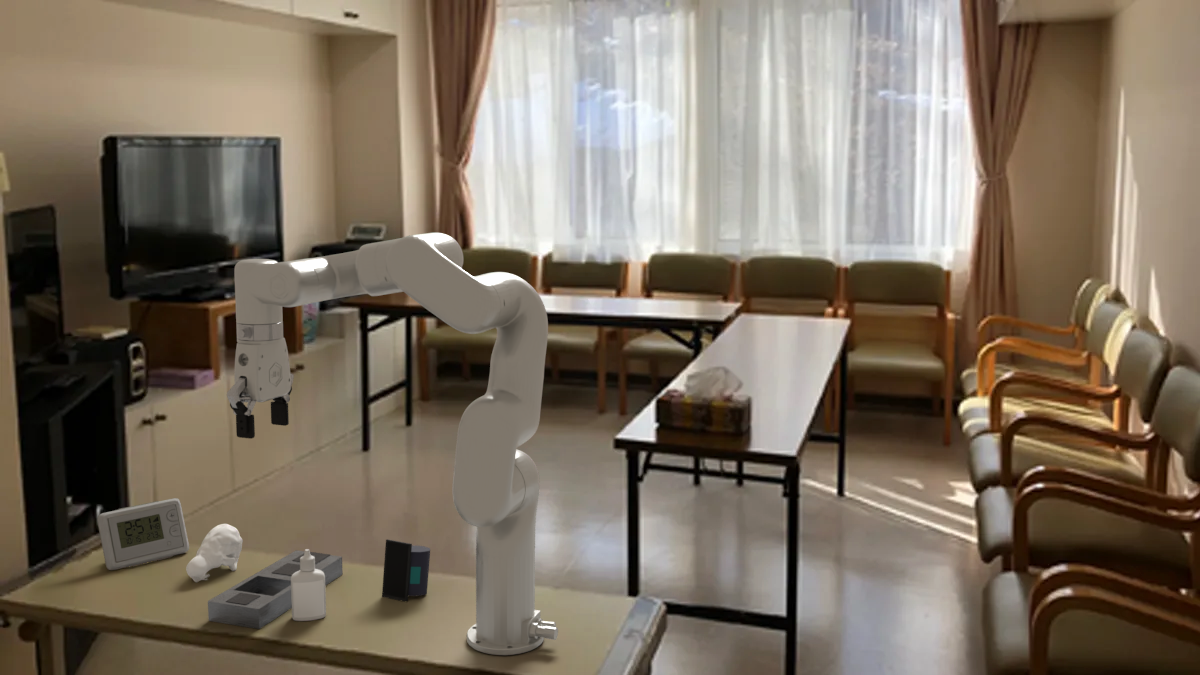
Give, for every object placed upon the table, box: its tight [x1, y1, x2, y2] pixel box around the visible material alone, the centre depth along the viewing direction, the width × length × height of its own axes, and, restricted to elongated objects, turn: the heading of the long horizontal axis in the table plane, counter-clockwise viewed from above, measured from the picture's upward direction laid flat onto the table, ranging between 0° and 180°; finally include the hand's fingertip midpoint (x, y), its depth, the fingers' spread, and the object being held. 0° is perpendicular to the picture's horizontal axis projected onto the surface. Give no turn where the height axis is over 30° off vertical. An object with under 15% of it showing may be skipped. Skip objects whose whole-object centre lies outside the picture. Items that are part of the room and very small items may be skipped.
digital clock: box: [96, 497, 190, 571], centre depth 210 cm, size 16×9×11 cm, turn 123°
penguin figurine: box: [185, 523, 244, 583], centre depth 203 cm, size 6×8×12 cm
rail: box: [207, 549, 343, 630], centre depth 193 cm, size 10×26×4 cm, turn 162°
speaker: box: [381, 539, 431, 602], centre depth 194 cm, size 8×6×10 cm
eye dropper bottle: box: [291, 548, 327, 622], centre depth 184 cm, size 4×6×12 cm
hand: (263, 430), depth 186 cm, fingers open, 9 cm apart
